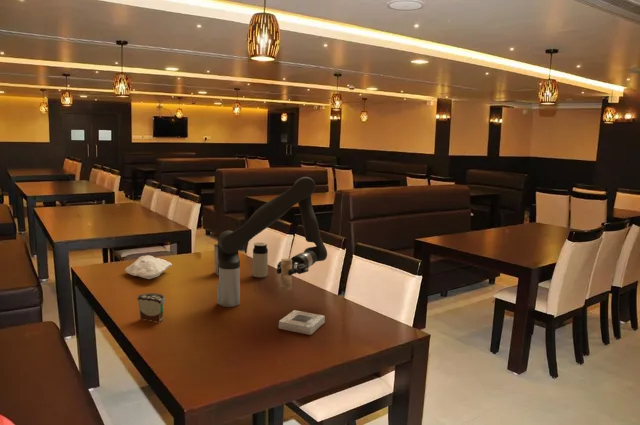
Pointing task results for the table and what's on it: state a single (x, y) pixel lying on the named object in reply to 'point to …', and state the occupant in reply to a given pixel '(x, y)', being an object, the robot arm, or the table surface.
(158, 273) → the crumpled cloth
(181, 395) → the table surface
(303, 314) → the beige flat square frame
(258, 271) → the travel mug
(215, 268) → the coffee box
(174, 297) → the table surface
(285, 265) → the peg
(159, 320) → the food container
